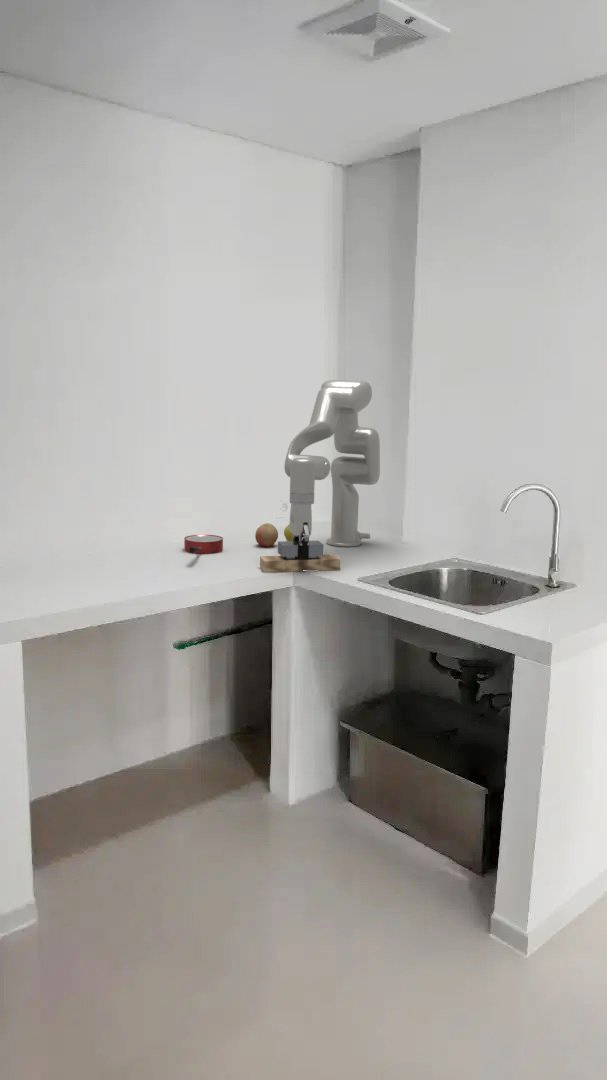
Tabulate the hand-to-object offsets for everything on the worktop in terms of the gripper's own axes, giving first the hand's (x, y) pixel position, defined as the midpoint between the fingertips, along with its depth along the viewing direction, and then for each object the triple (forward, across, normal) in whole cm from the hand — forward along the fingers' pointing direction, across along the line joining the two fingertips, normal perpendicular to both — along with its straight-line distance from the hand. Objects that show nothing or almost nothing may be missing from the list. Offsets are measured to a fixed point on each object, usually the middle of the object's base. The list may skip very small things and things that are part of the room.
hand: (300, 555), depth 247 cm
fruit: (+5, -35, -3) cm, 36 cm away
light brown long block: (+4, 0, 0) cm, 4 cm away
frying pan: (+5, -22, -28) cm, 35 cm away
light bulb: (+5, -24, +4) cm, 25 cm away
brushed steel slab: (+3, 0, 0) cm, 3 cm away
